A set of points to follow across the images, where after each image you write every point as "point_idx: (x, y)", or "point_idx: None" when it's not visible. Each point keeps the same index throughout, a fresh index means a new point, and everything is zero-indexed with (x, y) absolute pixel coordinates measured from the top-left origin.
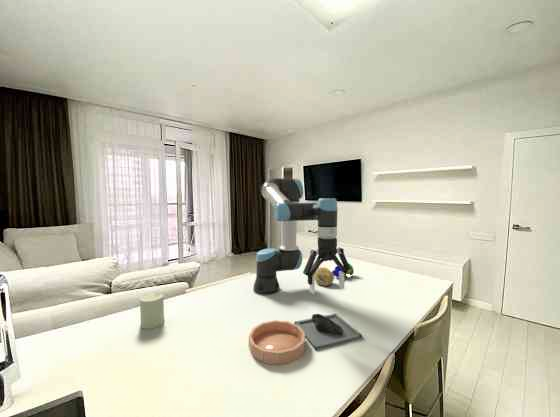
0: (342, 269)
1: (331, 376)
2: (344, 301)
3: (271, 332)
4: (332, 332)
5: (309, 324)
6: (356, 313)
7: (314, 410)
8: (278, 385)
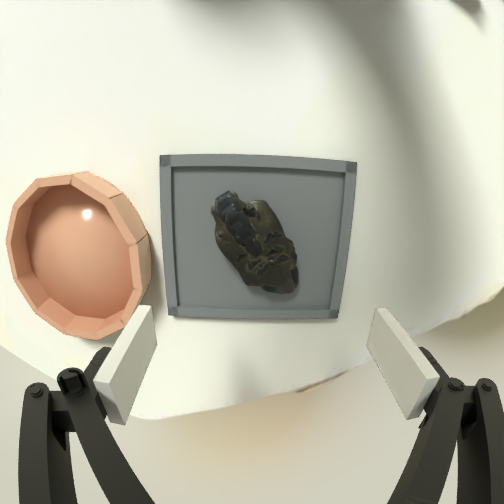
0: (417, 437)
1: (171, 383)
2: (445, 89)
3: (73, 190)
4: None
5: (213, 184)
6: (428, 183)
7: None
8: (74, 357)
